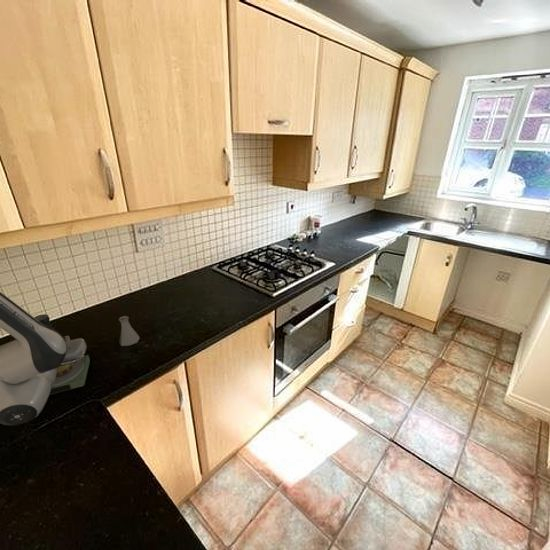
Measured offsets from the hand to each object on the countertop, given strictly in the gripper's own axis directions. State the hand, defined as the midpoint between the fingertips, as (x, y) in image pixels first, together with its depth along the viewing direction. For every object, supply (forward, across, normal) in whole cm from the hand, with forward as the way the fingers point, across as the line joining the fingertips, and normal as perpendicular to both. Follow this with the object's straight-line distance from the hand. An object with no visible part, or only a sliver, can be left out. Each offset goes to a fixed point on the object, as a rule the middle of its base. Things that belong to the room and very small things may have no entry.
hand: (50, 341), depth 92 cm
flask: (+12, -19, +14) cm, 27 cm away
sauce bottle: (-1, 0, +11) cm, 11 cm away
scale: (-1, 0, +14) cm, 14 cm away
